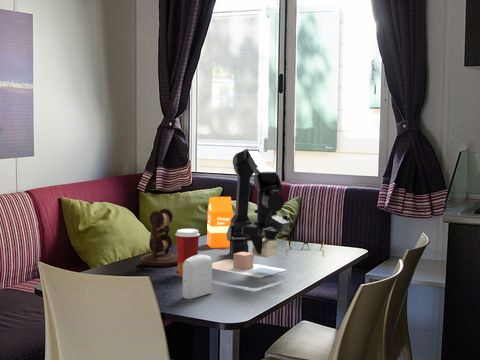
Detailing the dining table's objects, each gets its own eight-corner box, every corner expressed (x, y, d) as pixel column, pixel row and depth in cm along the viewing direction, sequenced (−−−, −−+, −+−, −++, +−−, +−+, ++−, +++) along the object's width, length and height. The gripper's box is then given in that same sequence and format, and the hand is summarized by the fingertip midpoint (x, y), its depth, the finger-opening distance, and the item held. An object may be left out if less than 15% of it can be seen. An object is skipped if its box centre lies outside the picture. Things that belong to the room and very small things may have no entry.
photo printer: (190, 300, 222) (191, 258, 221) (180, 297, 225) (180, 256, 223) (214, 293, 230) (214, 253, 228) (203, 291, 232) (204, 251, 231)
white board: (199, 268, 263) (199, 265, 263) (228, 261, 276) (228, 258, 276) (261, 280, 247) (261, 277, 247) (288, 272, 260) (288, 269, 260)
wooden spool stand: (151, 259, 277) (152, 205, 275) (188, 263, 272) (189, 208, 270) (132, 267, 263) (132, 211, 261) (170, 271, 258) (170, 214, 256)
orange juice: (207, 244, 309) (207, 195, 307) (228, 243, 311) (228, 195, 309) (210, 247, 302) (211, 198, 300) (232, 247, 304) (233, 198, 302)
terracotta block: (233, 267, 261) (233, 253, 261) (241, 265, 265) (242, 251, 265) (244, 270, 258) (244, 255, 258) (253, 267, 262) (253, 253, 261)
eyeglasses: (323, 250, 302) (323, 240, 302) (323, 258, 288) (323, 247, 288) (287, 249, 304) (288, 239, 303) (286, 256, 290) (286, 246, 289)
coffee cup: (203, 272, 257) (203, 229, 256) (193, 277, 250) (194, 233, 248) (180, 270, 260) (180, 227, 259) (170, 275, 252) (171, 231, 251)
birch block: (252, 255, 255) (252, 240, 255) (262, 252, 260) (262, 238, 259) (266, 257, 251) (267, 242, 251) (276, 254, 256) (277, 240, 256)
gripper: (269, 212, 242) (268, 260, 243) (300, 206, 256) (299, 251, 258) (241, 209, 248) (240, 255, 250) (274, 203, 263) (273, 247, 265)
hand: (264, 252), depth 256 cm, fingers closed on birch block, 6 cm apart
